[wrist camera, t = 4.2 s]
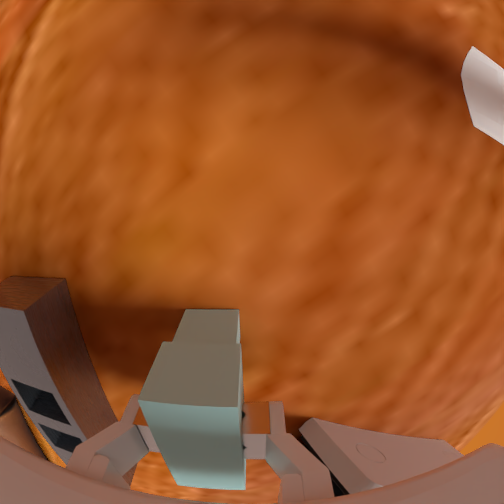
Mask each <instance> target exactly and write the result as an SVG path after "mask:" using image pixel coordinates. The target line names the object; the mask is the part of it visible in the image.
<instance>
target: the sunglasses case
mask: <svg viewBox="0 0 504 504" xmlns="http://www.w3.org/2000/svg"><path fill="white" fill-rule="evenodd" d="M0 436H2V437H3V438H5V439H7V440H8V441H10V442H12V443H13V444H15V445H17V446H19V447H21V448H23V449H24V450H26V451H28V452H30V453H32V454H34V455H36V456H38V457H40V458H43V459H45V460H47V459H46V457H45V456H44V454H43V452H42V450H41V449H40V447H39V446H38V444H37V443H36V441H35V438H34V436H33V434H32V433H31V431H30V429H29V427H28V425H27V423H26V421H25V419H24V417H23V415H22V413H21V410H20V407H19V406H18V404H17V402H16V395H14V394H13V393H11V392H10V391H8V390H6V389H5V388H3V387H2V386H0Z"/></svg>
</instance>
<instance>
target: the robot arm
mask: <svg viewBox="0 0 504 504" xmlns="http://www.w3.org/2000/svg"><path fill="white" fill-rule="evenodd" d="M138 397H139V395H137V394H134V395H132V396H131V398H130V400H129V403H128V405H127V407H126V409H125V412H124V414H123V416H122V418H121V421H120V422H115V423H113V424H112V425H110V426H109V427H107V428H105V429H104V430H102V431H101V432H99V433H97V434H96V435H94V436H93V437H91V438H89V439H88V440H86V441H84V442H83V443H81V444H79V445H78V446H76V448H75V450H74V452H73V454H72V456H71V458H70V460H69V462H68V464H67V466H66V468H63V467H61V466H58V465H56V464H54V463H51V462H49V461H47V460H45V459H43V458H40V457H38V456H36V455H34V454H32V453H30V452H28V451H26V450H24V449H23V448H21V447H19V446H17V445H15V444H13V443H12V442H10V441H8V440H7V439H5V438H3V437H2V436H0V504H226V503H210V502H199V501H190V500H183V499H176V498H169V497H163V496H158V495H153V494H148V493H143V492H139V491H134V490H130V486H129V484H128V483H127V482H126V481H125V479H124V478H123V477H122V476H123V475H124V474H125V473H126V472H127V471H128V470H130V469H131V468H132V467H133V466H134V465H135V464H136V463H137V462H139V461H140V460H141V459H142V458H143V457H144V456H145V455H146V454H147V453H148V452H149V451H153V452H160V450H159V448H158V446H157V444H156V442H155V440H154V438H153V435H152V433H151V431H150V429H149V426H148V424H147V422H146V419H145V417H144V415H143V412H142V410H141V407H140V405H139V402H138ZM242 415H243V419H242V431H241V435H242V445H243V458H244V459H266V461H267V463H268V464H269V465H270V466H271V468H272V469H273V470H274V471H275V473H276V474H277V475H278V476H279V478H280V479H281V483H280V489H279V495H278V503H275V504H504V447H502V446H500V445H496V444H493V443H490V444H487V445H484V446H482V447H480V448H479V449H477V450H475V451H473V452H471V453H469V454H467V455H465V456H463V457H461V458H459V459H456V460H454V461H452V462H450V463H447V464H445V465H443V466H440V467H438V468H436V469H433V470H431V471H428V472H425V473H423V474H420V475H417V476H414V477H412V478H409V479H406V480H403V481H399V482H396V483H393V484H389V485H386V486H382V487H379V488H375V489H371V490H367V491H362V492H358V493H353V494H348V495H343V496H338V497H334V492H333V487H332V482H331V477H330V472H329V469H328V468H327V467H326V466H325V465H324V464H323V463H321V462H320V461H319V460H318V459H317V458H316V457H315V456H314V455H313V454H312V453H310V452H309V451H308V450H307V449H306V448H305V447H304V446H303V445H302V444H301V443H300V442H299V441H298V440H297V439H296V438H295V437H294V436H292V435H291V434H290V433H286V426H285V417H284V408H283V402H282V401H275V402H243V404H242Z"/></svg>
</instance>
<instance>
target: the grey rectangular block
mask: <svg viewBox="0 0 504 504" xmlns="http://www.w3.org/2000/svg"><path fill="white" fill-rule="evenodd" d="M0 368H1V370H2V372H3V374H4V376H5V377H6V379H7V381H8V383H9V385H10V386H11V388H12V390H13V392H14V393H15V395H16V397H17V398H18V400H19V402H20V403H21V405H22V406H23V408H24V409H25V411H26V412H27V414H28V415H29V417H30V418H31V420H32V421H33V423H34V424H35V426H36V427H37V428H38V430H39V431H40V433H41V434H42V435H43V437H44V438H45V439H46V441H47V442H48V443H49V444H50V446H51V447H52V448H53V449H54V451H55V452H56V453H57V454H58V456H59V457H60V458H61V459H62V460H63V461H64V463H65V464H66V465H67V464H68V462H69V460H70V458H71V456H72V454H73V452H74V450H75V448H76V446H78V445H79V444H81V443H83V442H84V441H86V440H88V439H89V438H91V437H93V436H94V435H96V434H97V433H99V432H101V431H102V430H104V429H105V428H107V427H109V426H110V425H112V424H113V423H115V422H118V421H117V419H116V417H115V415H114V413H113V411H112V409H111V406H110V404H109V402H108V400H107V398H106V396H105V394H104V391H103V389H102V387H101V385H100V382H99V380H98V377H97V375H96V373H95V370H94V368H93V365H92V363H91V360H90V357H89V355H88V352H87V349H86V346H85V344H84V341H83V338H82V335H81V332H80V329H79V326H78V322H77V319H76V316H75V313H74V309H73V306H72V302H71V298H70V295H69V291H68V287H67V283H66V279H62V278H37V277H17V276H11V277H9V278H7V279H6V280H4V281H3V282H1V283H0ZM137 463H138V462H137ZM137 463H136V464H135V465H134V466H133V467H132V468H131V469H130V470H128V471H127V472H126V473H125V474H124V475H123V476H122V477H123V478H124V479H125V481H126V482H127V483H128V484H129V486H130V485H131V482H132V479H133V475H134V472H135V469H136V466H137Z"/></svg>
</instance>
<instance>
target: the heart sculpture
mask: <svg viewBox="0 0 504 504" xmlns="http://www.w3.org/2000/svg"><path fill="white" fill-rule="evenodd" d="M461 78H462V83H463V89H464V93H465V97H466V100H467V104H468V108H469V111H470V115H471V118H472V122H473V125H474V127H476V128H478V129H479V130H481V131H483V132H484V133H486V134H487V135H489V136H491V137H492V138H494V139H495V140H497V141H498V142H500V143H501V144H503V145H504V69H503V68H501V67H500V66H499V65H498V64H496V63H495V62H494V61H492V60H491V59H490V58H488V57H487V56H486V55H484V54H483V53H482V52H480V51H479V50H477V49H476V48H474V47H473V46H472V48H471V49H470V51H469V52H468V54H467V56H466V58H465V61H464V63H463V67H462V72H461Z"/></svg>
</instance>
